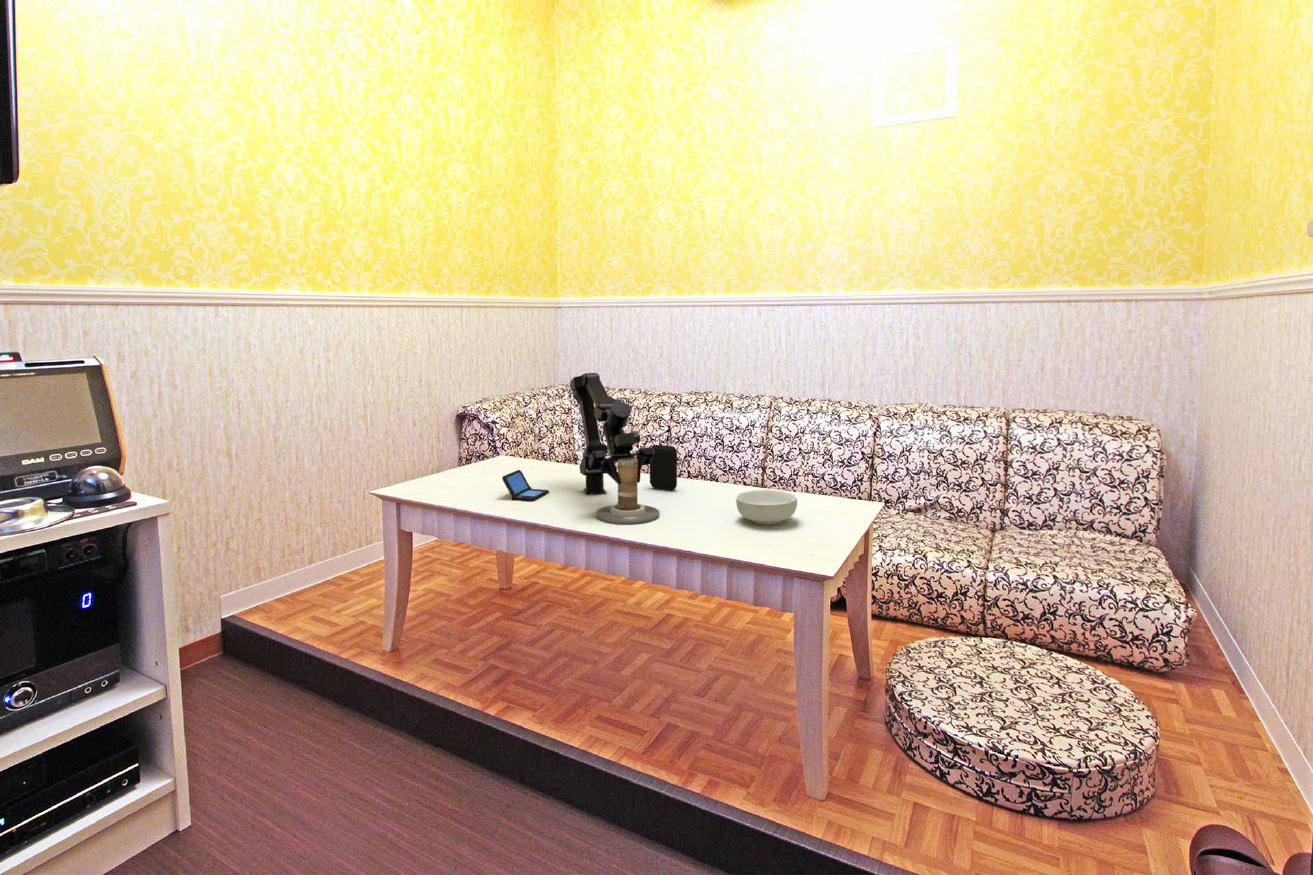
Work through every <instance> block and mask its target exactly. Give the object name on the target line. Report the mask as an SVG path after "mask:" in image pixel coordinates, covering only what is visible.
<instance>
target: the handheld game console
mask: <svg viewBox="0 0 1313 875" xmlns="http://www.w3.org/2000/svg"><path fill="white" fill-rule="evenodd" d="M502 482H503V483H504V485H505V487H506V488H507V490H508V493H510V496H511V501H517V500H521V501H520V502H530V503H531V501H532V502H535V501H537V500H539V499H541V498H543V497H544V496H546V495H548V494H549V493H550V490H549V489H540V488H539V489H538V488H532V486H530V484H529V483H528V481H527V479H526V477H525V475H524V473H523V472H522V470H520V469H517V470H515V471H512V472H510V473H508V474H505V475H502ZM542 496H543V497H542Z"/></svg>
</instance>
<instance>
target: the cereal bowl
mask: <svg viewBox="0 0 1313 875" xmlns="http://www.w3.org/2000/svg"><path fill="white" fill-rule="evenodd" d="M735 498H736V500H735V502H736V503H735V504H736V509H737V511H738V512H739V514H740V515H741V516H742V517H743V518H746V519H748V520H750V521H752V522H753V523H754V522H755V523H754V524H758V525H762V524H765V525H764V526H772V524H774V525H778V524H780V523H781V522H782V521H786V520H787V519H789V518H791V517H792V516H793V515H794V514H795V512H796V510H797V506H798V497H797V496H796V495H795V494H793V493H791V492H788V491H787V492H786V491H781V490H772V489H756V490H747V491H743V492H740V493H737V495H736V497H735Z"/></svg>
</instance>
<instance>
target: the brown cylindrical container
mask: <svg viewBox="0 0 1313 875" xmlns="http://www.w3.org/2000/svg"><path fill="white" fill-rule="evenodd" d="M617 472H618V475H619V478H620V482H621V483H620V485H618V484H617V504H618V505H619V506H622V507H633V506H636V505H637V504H638V482H637V459H635V458H620V459H618V462H617Z"/></svg>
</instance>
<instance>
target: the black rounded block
mask: <svg viewBox="0 0 1313 875" xmlns="http://www.w3.org/2000/svg"><path fill="white" fill-rule="evenodd" d="M650 447H651V448H653V449H654V452H655V455H654V457H653V459H652V461H651V463H650V464H649V484H650V486H651V487H652V488H653V489H655V490H662V489H663V490H665V491H670V492H672V491H674V490H676V489H677V487H678V486H677V485H678V451H677V448H676V447H675V446H672V445H663V444H654V445H652V446H650ZM663 490H662V491H663Z"/></svg>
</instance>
